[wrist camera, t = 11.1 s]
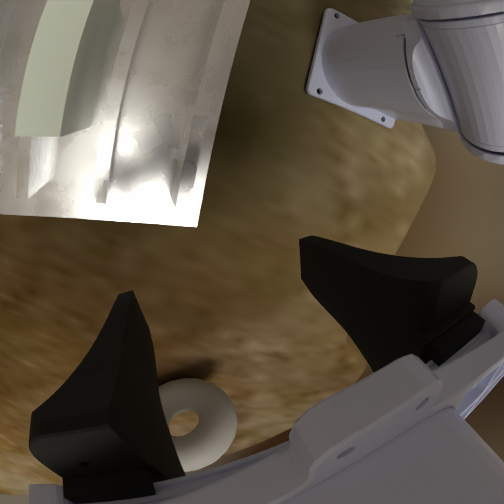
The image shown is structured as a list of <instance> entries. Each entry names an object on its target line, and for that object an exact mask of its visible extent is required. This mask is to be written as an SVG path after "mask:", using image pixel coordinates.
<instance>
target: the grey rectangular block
mask: <svg viewBox="0 0 504 504" xmlns="http://www.w3.org/2000/svg"><path fill="white" fill-rule="evenodd" d="M120 9H121V8H120V0H47V2H46V5H45V8H44V10H43V13H42V16H41V19H40V22H39V24H38V28H37V31H36V34H35V37H34V40H33V44H32V47H31V51H30V55H29V58H28V62H27V66H26V71H25V75H24V80H23V85H22V90H21V95H20V101H19V107H18V113H17V120H16V128H15V136H34V137H62V136H65V135H68V134H71V133H74V132H77V131H80V130H84V129H87V128H90V127H91V122H92V116H93V110H94V105H95V100H96V95H97V90H98V86H99V81H100V77H101V73H102V69H103V65H104V61H105V57H106V53H107V50H108V46H109V43H110V39H111V36H112V33H113V30H114V27H115V24H116V20H117V18H118V15H119V12H120Z"/></svg>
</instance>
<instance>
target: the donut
mask: <svg viewBox="0 0 504 504" xmlns="http://www.w3.org/2000/svg"><path fill="white" fill-rule="evenodd" d="M158 387H159V394H160V399H161V404H162V407H163V411H164V415H165V418H166V422H167V425H169V422H170V421H171V420H172V418H173V417H175V416H176V415H177V414H179V413H181V412H185V411H194V412H196V413H197V414H198V415H199V423H198V425H197V426H196V428H195V429H194V430H193V431H192V432H190V433H189V434H186V435H184V436H180V437H176V436H172V435H171V437H172V440H173V443H174V446H175V449H176V452H177V454H178V457H179V460H180V463H181V465H182V468H183V470H184V472H187V471H193V470H199V469H201V468H203V467H205V466H207V465H210V464H212V463H214V462H215V461H216V460H217V459H218V458H220V457H221V456H222V455H223V454H224V453H225V452H226V451H227V450H228V448H229V446H230V444H231V443H232V441H233V439H234V437H235V433H236V427H237V417H236V412H235V408H234V404H233V403H232V401H231V400H230V399H229V397H228V396H227V394H226V393H225V392H224V391H223V390H222V389H220V388H219V387H217V386H216V385H215V384H213V383H210V382H207V381H204V380H201V379H197V378H182V379H177V380H173V381H169V382H167V383H165V384H163V385H161V386H158Z"/></svg>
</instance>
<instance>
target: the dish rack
mask: <svg viewBox="0 0 504 504" xmlns="http://www.w3.org/2000/svg"><path fill="white" fill-rule="evenodd" d="M46 2H47V0H0V214H9V215H29V216H47V217H64V218H80V219H95V220H110V221H124V222H138V223H151V224H164V225H177V226H189V227H197V224H198V218H199V213H200V207H201V202H202V197H203V191H204V186H205V181H206V176H207V171H208V166H209V162H210V157H211V152H212V147H213V143H214V138H215V134H216V129H217V125H218V120H219V116H220V112H221V108H222V103H223V99H224V95H225V91H226V87H227V83H228V79H229V75H230V71H231V67H232V64H233V60H234V56H235V52H236V49H237V45H238V41H239V38H240V34H241V31H242V27H243V24H244V20H245V17H246V13H247V10H248V7H249V3H250V0H120V8H121V9H120V12H119V15H118V18H117V20H116V24H115V27H114V30H113V33H112V36H111V39H110V43H109V46H108V50H107V53H106V57H105V61H104V65H103V69H102V73H101V77H100V81H99V86H98V90H97V95H96V100H95V105H94V110H93V116H92V122H91V127H90V128H87V129H84V130H80V131H77V132H74V133H71V134H68V135H65V136H62V137H34V136H15V128H16V120H17V113H18V107H19V101H20V95H21V90H22V85H23V80H24V75H25V71H26V66H27V62H28V58H29V55H30V51H31V47H32V44H33V40H34V37H35V34H36V31H37V28H38V24H39V22H40V19H41V16H42V13H43V10H44V8H45V5H46Z"/></svg>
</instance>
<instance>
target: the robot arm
mask: <svg viewBox="0 0 504 504" xmlns="http://www.w3.org/2000/svg"><path fill="white" fill-rule="evenodd" d="M410 10H411V11H412V13H409V14H402V15H396V16H390V17H384V18H379V19H374V20H369V21H364V22H360V23H358V22H357V21H355V20H353V19H351V18H350V17H348V16H346V15H344V14H342V13H340V12H338V11H337V10H335V9H333V8H328V9H326V10H325V11H324V15H323V19H322V23H321V27H320V31H319V36H318V40H317V44H316V48H315V52H314V57H313V61H312V65H311V69H310V73H309V77H308V81H307V85H306V92H307V93H308V94H309V95H311V96H313V97H316V98H319V99H322V100H324V101H327V102H329V103H332V104H334V105H337V106H339V107H342V108H344V109H347V110H349V111H351V112H354V113H356V114H358V115H361V116H363V117H365V118H367V119H370V120H372V121H374V122H376V123H378V124H380V125H382V126H385V127H387V128H392V127H393V125H394V122H395V119H399V120H405V121H411V122H416V123H421V124H426V125H431V126H436V127H441V128H444V129H446V130H450V131H454V132H458V133H459V134H460V138H461V141H462V143H463V145H464V146H465V147H466V149H467V150H468V151H469V152H471V153H472V154H473V155H475V156H477V157H479V158H481V159H483V160H486V161H489V162H493V163H497V164H503V165H504V0H414V1H413V4H411V6H410ZM334 14H335V15H336V16H337V18H336V17H335V16H334ZM317 89H319V91H320V93H319V94H317ZM381 118H382V121H381ZM299 246H300V263H301V279H302V280H303V282H304V283H305V285H306V286H307V288H308V289H309V291H310V292H311V293H312V295H313V296H314V297H315V298H316V299H317V300H318V302H319V303H320V304H321V305H322V306H323V307H324V308H325V309H326V310H327V311H328V312H329V313H330V314H331V315H332V316H333V318H334V319H335V320H336V321H337V322H338V323H339V324H340V325H341V326H342V327H343V328H344V330H345V331H346V332H347V333H348V335H349V336H350V337H351V339H352V340H353V342H354V343H355V344H356V346H357V347H358V349H359V350H360V351H361V353H362V355H363V356H364V358H365V359H366V361H367V362H368V364H369V365H370V367H371V369H372V370H373V372H374V373H373V374H371V375H369V376H368V377H365V378H364V379H362V380H360V381H358V382H356V383H355V384H353V385H351V386H349V387H347V388H345V389H343V390H341V391H339V392H337V393H335V394H333V395H331V396H329V397H327V398H325V399H324V400H322V401H320V402H319V403H317V404H315V405H314V406H312V407H311V408H309V409H307V410H306V411H305V412H304V413H303V414H302V415H301V416H300V417H299V418H298V419H297V420H296V421H295V423H294V425H293V428H292V431H291V432H290V435H289V439H290V440H289V441H287V442H285V443H282V444H280V445H277V446H275V447H272V448H270V449H267V450H265V451H262V452H260V453H257V454H254V455H252V456H249V457H246V458H243V459H240V460H237V461H234V462H231V463H228V464H225V465H222V466H218V467H215V468H212V469H209V470H205V471H202V472H198V473H194V474H190V475H185V472H184V470H183V468H182V465H181V463H180V460H179V457H178V454H177V452H176V449H175V446H174V443H173V440H172V437H171V434H170V431H169V428H168V425H167V422H166V418H165V415H164V411H163V407H162V404H161V399H160V394H159V387H158V379H157V371H156V363H155V354H154V347H153V343H152V339H151V334H150V330H149V327H148V325H147V323H146V320H145V318H144V316H143V313H142V311H141V309H140V306H139V304H138V302H137V299H136V297H135V294H134V292H133V290H132V291H128V292H125V293H122V294H119V295H118V297H117V299H116V301H115V303H114V305H113V307H112V309H111V311H110V314H109V316H108V318H107V320H106V322H105V324H104V326H103V328H102V330H101V331H100V333H99V335H98V337H97V339H96V341H95V342H94V344H93V346H92V347H91V349H90V350H89V352H88V353H87V355H86V356H85V358H84V359H83V361H82V362H81V363H80V365H79V366H78V367H77V368H76V370H75V371H74V372H73V373H72V374H71V376H70V377H69V378H68V379H67V380H66V382H65V383H64V384H63V385H62V386H61V387H60V388H59V389H58V390H57V391H56V392H55V393H54V394H53V395H52V396H51V397H50V398H49V399H47V400H46V401H45V402H44V403H43V404H42V405H40V406H39V407H38V408H37V409H36V410H34V411H33V412H32V415H31V424H30V435H29V450H30V451H31V453H32V454H33V456H34V457H35V458H36V459H37V460H38V461H40V462H41V463H42V464H43V465H45V466H46V467H48V468H49V469H50V470H52V471H53V472H55V473H56V474H58V475H59V476H61V477H62V478H63V486H61V485H57V484H31V485H29V500H30V504H504V463H503V461H502V460H501V459H500V458H499V457H498V456H497V455H496V454H495V452H494V451H493V450H492V449H491V448H490V447H489V446H488V445H487V444H486V443H485V442H484V441H483V439H482V438H481V437H480V436H479V435H477V433H476V432H475V431H474V430H473V429H472V428H471V427H470V426H469V425H468V424H467V422H466V421H465V420H464V419H465V418H466V417H467V416H468V414H469V413H471V411H472V410H473V409H474V408H475V407H476V406H477V405H478V404H479V403H480V402H481V401H482V400H483V399H484V397H485V396H486V395H487V394H488V393H489V392H490V391H491V390H492V388H493V387H494V386H495V385H496V384H497V383H498V381H499V380H500V379H501V378H502V377H503V376H504V305H502V304H501V303H500V302H498V301H497V300H495V299H493V300H491V302H489V303H488V304H487V305H486V306H485V307H484V308H483V309H482V310H481V311H480V313H479V314H476V313H475V312H474V311H473V310H474V309H475V305H473V304H472V303H471V302H470V299H471V296H472V293H473V290H474V287H475V284H476V280H477V267H476V265H475V264H474V263H473V262H471V261H470V260H468V259H466V258H465V257H462V256H458V257H446V258H413V257H402V256H394V255H388V254H382V253H377V252H372V251H368V250H364V249H360V248H356V247H353V246H349V245H346V244H342V243H339V242H335V241H332V240H329V239H325V238H321V237H317V236H308V237H305V238H302V239H299Z"/></svg>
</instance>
